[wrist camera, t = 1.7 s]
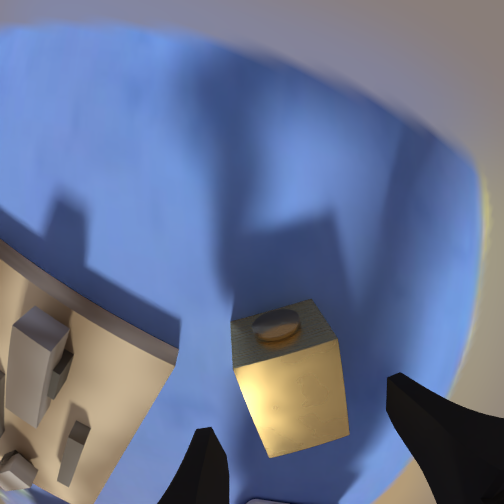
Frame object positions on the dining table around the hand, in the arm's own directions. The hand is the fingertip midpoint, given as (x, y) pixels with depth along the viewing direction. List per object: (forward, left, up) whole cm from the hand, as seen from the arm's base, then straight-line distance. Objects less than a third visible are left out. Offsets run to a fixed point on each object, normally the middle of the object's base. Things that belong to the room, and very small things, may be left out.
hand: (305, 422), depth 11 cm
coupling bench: (+11, +13, -5) cm, 18 cm away
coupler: (0, 0, -5) cm, 5 cm away
